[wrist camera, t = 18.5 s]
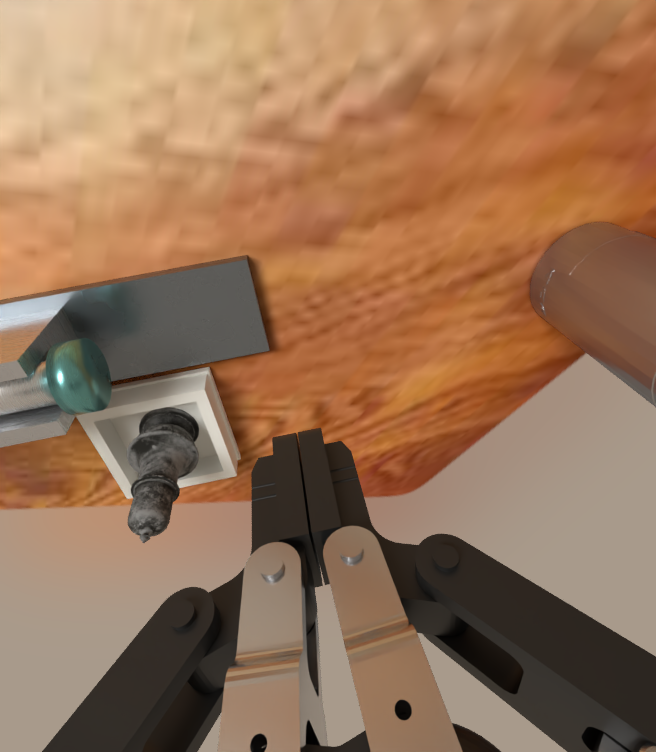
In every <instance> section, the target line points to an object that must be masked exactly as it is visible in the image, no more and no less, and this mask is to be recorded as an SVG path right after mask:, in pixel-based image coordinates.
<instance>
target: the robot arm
mask: <svg viewBox="0 0 656 752" xmlns="http://www.w3.org/2000/svg"><path fill="white" fill-rule="evenodd" d="M530 299H531V303H532V306H533V308H534V309H535V311H536V312H537V313H538V314H539V315H540V316H541V317H542V318H543V319H544V320H546V321H547V322H548V323H550V324H551V325H552V326H553V327H555V328H556V329H557V330H558V331H560V332H561V333H562V334H564V335H565V336H566V337H567V338H568V339H570V340H571V341H572V342H573V343H575V344H576V345H577V346H579V347H580V348H581V349H582V350H584V351H585V352H586V353H587V354H589V355H590V356H591V357H593V358H594V359H595V360H596V361H598V362H599V363H600V364H601V365H603V366H604V367H605V368H607V369H608V370H609V371H610V372H612V373H613V374H614V375H616V376H617V377H618V378H619V379H621V380H622V381H623V382H625V383H626V384H627V385H628V386H630V387H631V388H632V389H633V390H635V391H636V392H637V393H638V394H640V395H641V396H642V397H644V398H645V399H646V400H647V401H649V402H650V403H651V404H653V405H654V406H655V407H656V239H655V238H653V237H650V236H647V235H645V234H642V233H639V232H633V231H630V230H628V229H625V228H622V227H619V226H617V225H614V224H611V223H608V222H594V223H588V224H585V225H582V226H580V227H577V228H575V229H573V230H571V231H570V232H568V233H566V234H565V235H563V236H562V237H561V238H560V239H558V240H557V241H556V242H555V243H554V244H553V245H552V246H551V247H550V248H549V249H548V250H547V251H546V252H545V254H544V255H543V257H542V258H541V260H540V261H539V263H538V264H537V267H536V269H535V271H534V273H533V276H532V280H531V284H530ZM298 438H299V442H298ZM298 438H297V434H296V433H293V434H288V435H283V436H278V437H273V439H272V441H273V455H271V456H266V457H262V458H258V460H257V462H256V464H255V466H254V468H253V471H252V551H251V556H250V557H249V559H248V561H247V562H246V565H245V567H244V569H243V570H242V571H241V572H240V573H239V574H238V575H237V576H236V577H235V578H233V579H232V580H230V581H229V582H227V583H225V584H223V585H222V586H220V587H218V588H216V589H215V590H213V591H211V592H209V593H208V592H207V591H206V590H204V589H201V588H198V587H189V588H185V589H182V590H180V591H178V592H176V593H174V594H173V595H172V596H170V597H169V598H168V599H167V600H166V601H165V602H164V603H163V604H162V605H161V606H160V608H159V609H158V610H157V611H156V613H155V614H154V615H153V616H152V618H151V619H150V620H149V621H148V622H147V624H146V625H145V626H144V627H143V629H142V630H141V631H140V632H139V633H138V635H137V636H136V637H135V638H134V640H133V641H132V642H131V643H130V644H129V646H128V647H127V648H126V649H125V651H124V652H123V653H122V654H121V656H120V657H119V658H118V659H117V660H116V662H115V663H114V664H113V665H112V667H111V668H110V669H109V670H108V671H107V673H106V674H105V675H104V676H103V678H102V679H101V680H100V681H99V682H98V684H97V685H96V686H95V687H94V689H93V690H92V691H91V692H90V694H89V695H88V696H87V697H86V698H85V700H84V701H83V702H82V703H81V705H80V706H79V707H78V708H77V710H76V711H75V712H74V713H73V714H72V716H71V717H70V718H69V719H68V721H67V722H66V723H65V724H64V725H63V727H62V728H61V729H60V730H59V732H58V733H57V734H56V735H55V736H54V738H53V739H52V740H51V741H50V743H49V744H48V745H47V746H46V748H45V749H44V750H43V751H42V752H197V751H198V750H199V748H200V746H201V745H202V743H203V741H204V740H205V738H206V736H207V735H208V733H209V731H210V730H211V728H212V727H213V725H214V723H215V721H216V720H217V718H218V716H219V715H220V713H222V714H221V722H220V731H219V741H218V750H217V752H501V751H500V750H499V749H497V748H496V747H495V746H494V745H493V744H491V743H490V742H489V741H487V740H486V739H484V738H483V737H482V736H480V735H478V734H476V733H475V732H473V731H471V730H469V729H467V728H465V727H462V726H460V725H457V724H453V723H452V722H451V720H450V717H449V715H448V712H447V709H446V707H445V704H444V702H443V699H442V696H441V694H440V691H439V688H438V686H437V683H436V681H435V678H434V675H433V673H432V670H431V668H430V665H429V662H428V660H427V657H426V655H425V652H424V649H423V647H422V644H421V642H420V639H419V637H418V634H417V633H422V634H423V635H424V636H425V637H426V638H427V639H428V640H429V641H430V642H432V643H433V644H434V645H435V646H437V647H438V648H439V649H440V650H442V651H443V652H444V653H445V654H446V655H448V656H449V657H451V659H453V660H454V661H455V662H456V663H458V664H459V665H460V666H462V667H463V668H464V669H465V670H467V671H468V672H469V673H470V674H471V675H473V676H474V677H475V678H476V679H478V680H479V681H480V682H482V683H483V684H484V685H485V686H487V687H488V688H489V689H490V690H491V691H493V692H494V693H495V694H496V695H498V696H499V697H500V698H501V699H503V700H504V701H505V702H506V703H507V704H509V705H510V706H511V707H512V708H514V709H515V710H516V711H517V712H519V713H520V714H521V715H522V716H524V717H525V718H526V719H527V720H529V721H530V722H531V723H532V724H534V725H535V726H536V727H537V728H539V729H540V730H541V731H542V732H544V733H545V734H546V735H548V736H549V737H550V738H551V739H552V740H554V741H555V742H556V743H557V744H559V745H560V746H561V747H562V748H564V749H565V750H566V751H567V752H656V657H655V656H654V655H652V654H650V653H649V652H647V651H645V650H644V649H642V648H640V647H639V646H637V645H635V644H634V643H632V642H631V641H629V640H627V639H626V638H624V637H622V636H620V635H619V634H617V633H616V632H613V631H612V630H611V629H609V628H607V627H606V626H604V625H602V624H601V623H599V622H597V621H596V620H594V619H592V618H591V617H589V616H587V615H586V614H584V613H583V612H581V611H579V610H578V609H576V608H574V607H573V606H571V605H569V604H567V603H566V602H564V601H563V600H561V599H559V598H558V597H556V596H554V595H553V594H551V593H549V592H548V591H546V590H544V589H543V588H541V587H539V586H538V585H536V584H534V583H533V582H531V581H529V580H528V579H526V578H524V577H523V576H521V575H519V574H518V573H516V572H515V571H513V570H511V569H510V568H508V567H506V566H505V565H503V564H501V563H500V562H498V561H496V560H495V559H493V558H491V557H490V556H488V555H486V554H485V553H483V552H481V551H480V550H478V549H476V548H475V547H473V546H471V545H470V544H468V543H466V542H465V541H463V540H461V539H460V538H458V537H455V536H453V535H448V534H435V535H432V536H429V537H427V538H426V539H424V540H423V541H422V542H421V543H420V544H419V545H411V544H401V543H395V542H392V541H389V540H387V539H385V538H384V537H382V536H381V535H380V534H379V533H377V531H376V530H375V529H374V527H373V526H372V524H371V521H370V517H369V514H368V510H367V507H366V503H365V499H364V496H363V492H362V489H361V485H360V482H359V479H358V474H357V471H356V468H355V464H354V460H353V456H352V453H351V451H350V450H349V449H348V448H347V447H346V446H345V445H344V444H343V442H342V441H338V442H334V443H329V444H324V441H323V436H322V431H321V428H317V429H312V430H307V431H302V432H298ZM299 446H300V447H299ZM319 563H320V564H319ZM320 567H321V571H322V575H323V578H324V582H325V585H327V584H330V586H331V590H332V594H333V598H334V603H335V607H336V611H337V615H338V619H339V623H340V627H341V631H342V636H343V640H344V644H345V648H346V652H347V656H348V660H349V664H350V669H351V673H352V676H353V681H354V685H355V689H356V693H357V697H358V701H359V706H360V710H361V713H362V717H363V722H364V726H365V731H364V732H362V733H361V734H359V735H357V736H356V737H354V738H352V739H351V740H349V741H348V742H346V743H344V744H343V745H341V746H337V747H329V746H328V744H327V732H326V722H325V715H324V710H323V703H322V688H321V670H320V652H319V634H318V618H317V603H316V596H315V587H319V586H322V578H321V571H320Z"/></svg>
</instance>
